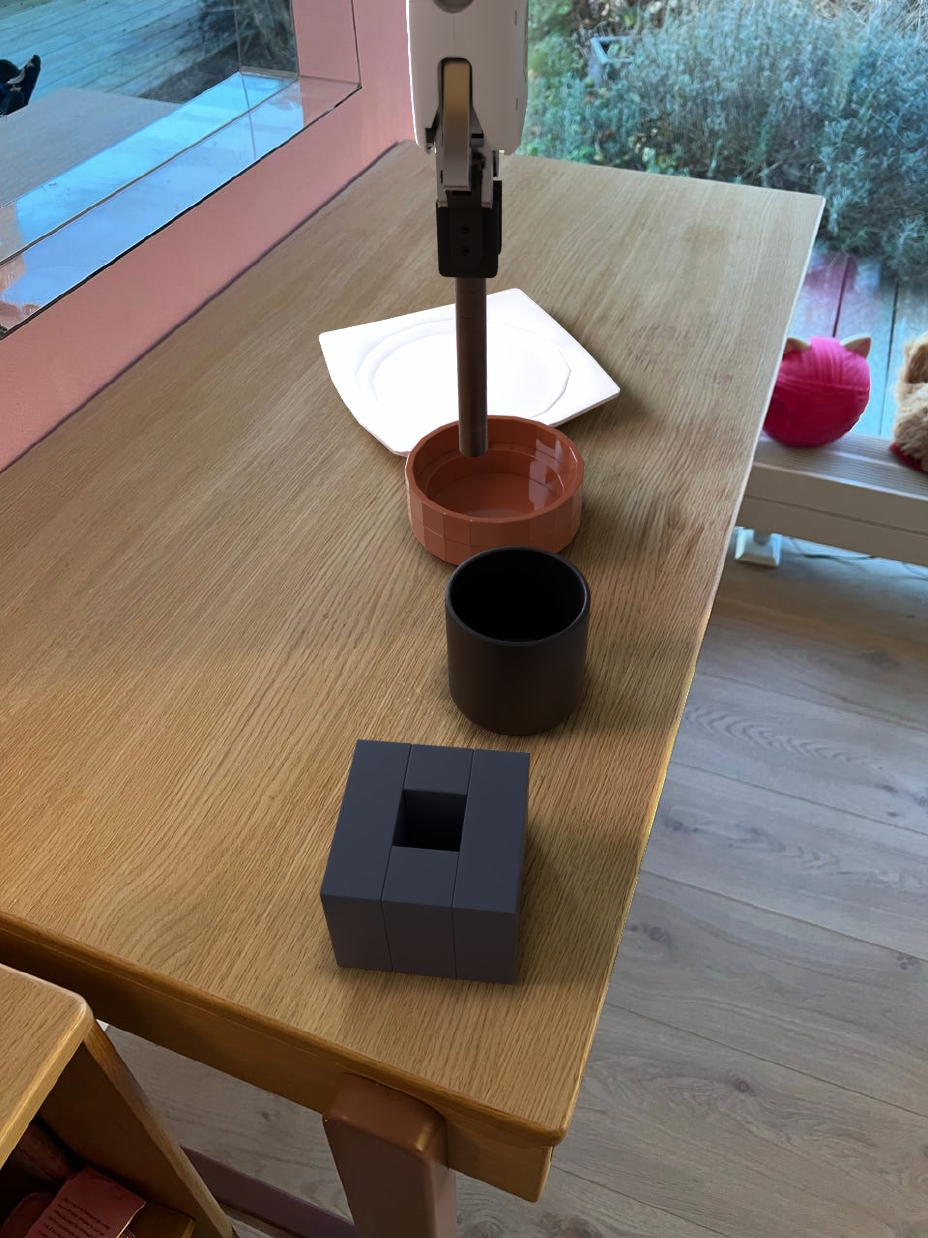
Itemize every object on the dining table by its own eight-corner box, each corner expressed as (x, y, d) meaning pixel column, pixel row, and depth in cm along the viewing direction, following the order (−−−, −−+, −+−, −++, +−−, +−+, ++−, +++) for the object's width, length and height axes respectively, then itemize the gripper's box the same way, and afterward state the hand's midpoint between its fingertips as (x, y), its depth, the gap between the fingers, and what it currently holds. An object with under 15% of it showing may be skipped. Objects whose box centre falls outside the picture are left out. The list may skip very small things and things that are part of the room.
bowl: (583, 471, 88) (586, 418, 84) (576, 581, 78) (580, 527, 74) (423, 463, 89) (419, 411, 86) (397, 570, 80) (391, 516, 76)
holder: (527, 830, 62) (530, 752, 57) (514, 985, 55) (515, 913, 50) (369, 816, 63) (356, 738, 58) (336, 966, 56) (318, 894, 51)
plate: (522, 303, 109) (522, 280, 107) (636, 419, 93) (639, 394, 91) (307, 354, 103) (303, 331, 101) (390, 488, 87) (388, 463, 85)
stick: (488, 441, 65) (487, 153, 52) (486, 458, 63) (484, 167, 51) (461, 440, 65) (452, 153, 52) (458, 457, 63) (448, 167, 51)
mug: (597, 623, 75) (606, 530, 68) (571, 749, 67) (578, 657, 60) (474, 604, 77) (472, 512, 70) (434, 724, 68) (427, 633, 62)
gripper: (543, -117, 36) (530, 340, 49) (559, -183, 47) (545, 205, 60) (339, -116, 37) (380, 335, 50) (402, -181, 48) (422, 202, 61)
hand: (470, 261), depth 55 cm, fingers closed on stick, 1 cm apart
